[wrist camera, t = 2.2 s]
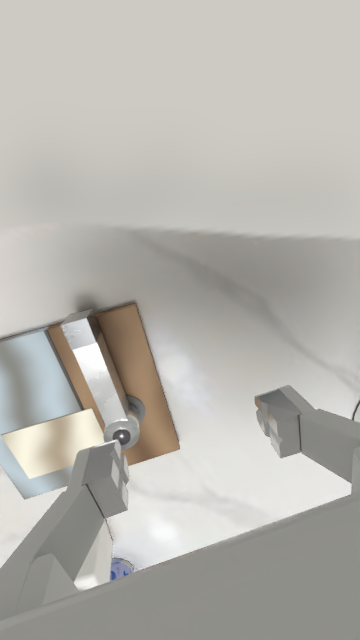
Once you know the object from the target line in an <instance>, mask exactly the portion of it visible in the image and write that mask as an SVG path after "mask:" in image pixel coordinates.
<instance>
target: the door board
mask: <svg viewBox="0 0 360 640" xmlns="http://www.w3.org/2000/svg"><path fill="white" fill-rule="evenodd" d="M95 316H96V319H97V321H98V324H99V326H100V329H101V332H102V334H103V337H104V339H105V342H106V345H107V347H108V350H109V353H110V355H111V358H112V360H113V363H114V366H115V368H116V371H117V373H118V376H119V379H120V381H121V384H122V387H123V389H124V392H125V394H126V397H127V400H128V402H129V404H132V405H134V406H135V407H136V408H137V409H138V411H139V439H138V441H137V443H136V444H135V445H134V446H132V447H130V448H128V449H125V450H121V453H123V454H125V457H126V459H127V463H128V466H130V465H133V464H136V463H139V462H142V461H145V460H148V459H152V458H155V457H158V456H161V455H164V454H167V453H170V452H173V451H176V450H179V449H180V445H179V441H178V438H177V435H176V431H175V428H174V425H173V422H172V419H171V415H170V412H169V409H168V406H167V402H166V399H165V396H164V393H163V390H162V386H161V383H160V380H159V377H158V374H157V370H156V367H155V364H154V361H153V358H152V354H151V351H150V348H149V345H148V342H147V338H146V335H145V332H144V329H143V326H142V322H141V319H140V316H139V313H138V309H137V306H136V303H133V304H130V305H126V306H122V307H119V308H115V309H111V310H107V311H104V312H100V313H96V314H95ZM61 324H62V323H59V324H56V325H52V326H48V327H45V328H41V329H37V330H33V331H30V332H26V333H22V334H19V335H15V336H11V337H8V338H4V339H0V465H1V467H2V468H3V470H4V471H5V473H6V474H7V475H8V477H9V478H10V480H11V481H12V483H13V484H14V485H15V487H16V488H17V490H18V491H19V493H20V494H21V495H22V497H23V498H24V500H25V499H28V498H31V497H34V496H37V495H40V494H43V493H47V492H50V491H53V490H56V489H59V488H62V487H65V486H68V483H69V480H70V476H71V473H72V469H73V466H74V462H75V459H76V455H77V453H78V452H79V450H83V449H86V448H90V447H92V446H96V445H99V444H103V443H105V442H104V438H103V436H104V430H105V423H104V420H103V418H102V416H101V414H100V411H99V409H98V407H97V405H96V402H95V400H94V398H93V395H92V393H91V391H90V389H89V386H88V384H87V382H86V380H85V377H84V375H83V373H82V371H81V368H80V366H79V364H78V362H77V359H76V357H75V355H74V353H73V350H71V348H70V346H69V344H68V341H67V339H66V337H65V335H64V332H63V330H62V328H61V326H60V325H61Z"/></svg>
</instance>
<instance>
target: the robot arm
mask: <svg viewBox="0 0 360 640" xmlns="http://www.w3.org/2000/svg"><path fill="white" fill-rule="evenodd" d="M255 404H256V406H257V407H258V410H257V412H256V413H257V419H258V422H259V424H260V427H261V429H262V431H263V432H264V434H265V435H266V436H268V437H270V438H271V445H272V446H273V448H274V449H275V451H276V452H277V454H278V455H279V457H280V458H283V457H287V456H290V455H293V454H297V453H300V452H302V454H304V455H305V456H307V457H309V458H310V459H312V460H314V461H315V462H317V463H319V464H320V465H322V466H323V467H325V468H327V469H328V470H330V471H332V472H333V473H335V474H337V475H338V476H340V477H342V478H343V479H345V480H346V481H348V482H350V483H351V484H352V491H351V495H348V496H345V497H342V498H339V499H337V500H334V501H331V502H328V503H326V504H323V505H320V506H317V507H314V508H312V509H309V510H306V511H303V512H301V513H298V514H295V515H292V516H290V517H287V518H284V519H281V520H278V521H276V522H273V523H270V524H267V525H265V526H262V527H259V528H256V529H254V530H251V531H248V532H245V533H243V534H240V535H237V536H234V537H231V538H229V539H226V540H223V541H220V542H218V543H215V544H212V545H209V546H206V547H204V548H201V549H198V550H195V551H193V552H190V553H187V554H184V555H181V556H179V557H176V558H173V559H170V560H168V561H165V562H162V563H159V564H156V565H154V566H151V567H148V568H145V569H142V570H140V571H137V572H134V573H131V574H129V575H126V576H123V577H120V578H117V579H115V580H112V581H109V582H106V583H104V584H101V585H98V586H95V587H92V588H90V589H87V590H84V591H81V592H80V591H79V590H78V588H77V587H76V586H75V584H74V581H75V579H76V577H77V575H78V573H79V571H80V569H81V567H82V565H83V563H84V561H85V559H86V557H87V555H88V553H89V551H90V549H91V547H92V545H93V543H94V541H95V539H96V537H97V535H98V533H99V531H100V529H101V527H102V525H103V523H104V521H105V518H108V517H110V516H113V515H116V514H118V513H121V512H124V511H126V510H128V490H127V487H126V484H127V482H128V481H129V470H128V463H127V459H126V457H125V454H123V453H121V445H120V443H119V441H118V440H113V441H110V442H106V443H103V444H99V445H96V446H92V447H90V448H86V449H83V450H79V452H78V453H77V455H76V459H75V462H74V466H73V469H72V473H71V476H70V480H69V483H68V487H67V490H66V491H65V492H62V493H61V494H60V496H59V497H58V498H57V499H56V501H55V502H54V503H53V504H52V506H51V507H50V508H49V509H48V511H47V512H46V513H45V514H44V515H43V517H42V518H41V519H40V520H39V522H38V523H37V524H36V525H35V527H34V528H33V529H32V530H31V532H30V533H29V534H28V535H27V536H26V538H25V539H24V540H23V541H22V543H21V544H20V545H19V546H18V548H17V549H16V550H15V551H14V552H13V554H12V555H11V556H10V557H9V559H8V560H7V561H6V562H5V564H4V565H3V566H2V567H1V569H0V640H360V405H359V406H358V408H357V411H356V413H355V416H354V421H353V420H350V419H347V418H344V417H342V416H339V415H336V414H333V413H330V412H327V411H324V410H321V409H317V410H315V409H314V408H313V407H312V406H311V405H310V404H309V403H308V402H307V401H306V400H305V399H304V398H303V397H302V396H301V395H300V394H299V393H297V392H296V391H295V390H294V389H293V388H292V387H291V386H289V385H287V386H284V387H281V388H278V389H276V390H272V391H269V392H266V393H263V394H260V395H257V396H255Z"/></svg>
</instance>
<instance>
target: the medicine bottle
mask: <svg viewBox="0 0 360 640" xmlns="http://www.w3.org/2000/svg"><path fill="white" fill-rule="evenodd" d="M112 546H113V542H112V539H111V536H110V533H109V530H108V527H107V524H106V521H104V523H103V525H102V527H101V529H100V531H99V533H98V535H97V537H96V539H95V541H94V543H93V545H92V547H91V549H90V551H89V553H88V555H87V557H86V559H85V561H84V563H83V565H82V567H81V569H80V571H79V573H78V575H77V577H76V579H75V581H74V584H75V586H76V587H77V588H78V590H79V591H80V592H81V591H84V590H87V589H90V588H92V587H95V586H98V585H101V584H104V583H106V582H109V581H110V571H111V559H112Z"/></svg>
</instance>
